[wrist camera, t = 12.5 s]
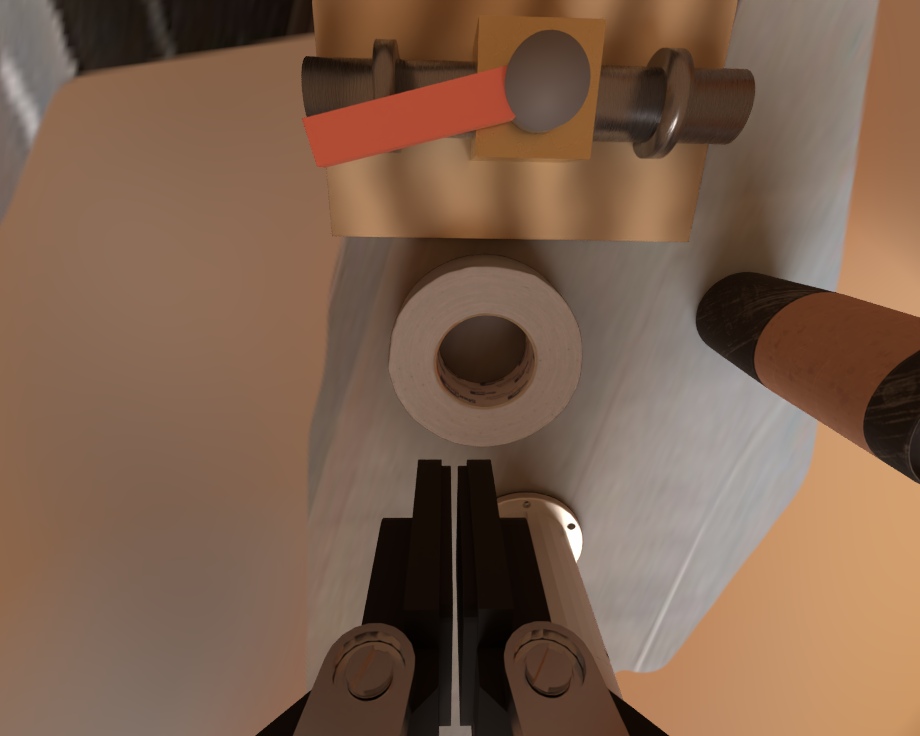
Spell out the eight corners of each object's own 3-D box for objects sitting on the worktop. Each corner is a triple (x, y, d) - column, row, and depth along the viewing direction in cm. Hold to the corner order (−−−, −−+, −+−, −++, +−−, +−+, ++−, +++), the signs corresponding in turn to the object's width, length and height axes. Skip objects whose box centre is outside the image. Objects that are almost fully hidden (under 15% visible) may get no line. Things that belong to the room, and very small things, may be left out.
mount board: (738, -41, 30) (747, -48, 29) (682, 240, 37) (688, 241, 36) (310, -56, 29) (306, -64, 28) (335, 234, 36) (332, 236, 35)
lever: (571, 34, 25) (585, 19, 23) (581, 123, 27) (594, 117, 24) (307, 103, 26) (292, 96, 24) (332, 185, 28) (321, 185, 25)
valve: (718, 58, 32) (793, 25, 25) (697, 166, 35) (759, 163, 28) (319, 46, 31) (283, 8, 24) (328, 158, 34) (298, 152, 27)
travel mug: (688, 358, 41) (886, 504, 23) (695, 273, 38) (930, 362, 20) (774, 348, 41) (1043, 488, 22) (788, 263, 38) (1110, 342, 20)
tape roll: (369, 383, 41) (360, 409, 37) (434, 222, 36) (432, 229, 32) (520, 440, 44) (529, 471, 39) (600, 298, 39) (621, 314, 34)
